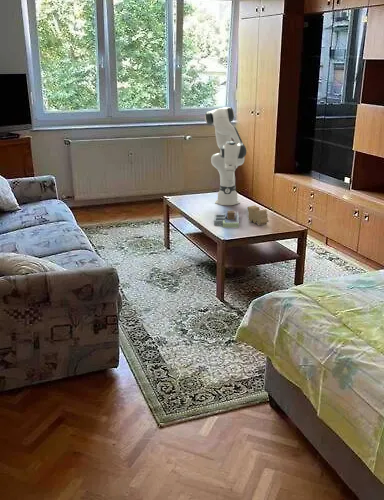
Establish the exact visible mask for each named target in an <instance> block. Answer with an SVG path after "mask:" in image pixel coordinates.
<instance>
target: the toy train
mask: <svg viewBox="0 0 384 500" xmlns="http://www.w3.org/2000/svg"><path fill="white" fill-rule="evenodd" d="M260 208H261V207H260V206H257V205H250V206H247V212H248V213H247V215H248V216H247V218H248V221H249V223H250V222H251V223H252V222H253V223H254V224H257V225H258V226H263V225H266V224H267V223H270V222H269V221H270V220H269V218H268V213H267V212H268V211H267V209H260Z"/></svg>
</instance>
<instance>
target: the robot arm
mask: <svg viewBox="0 0 384 500" xmlns="http://www.w3.org/2000/svg"><path fill="white" fill-rule="evenodd" d="M234 118H235V111H234V109H233V108H232V107H231V106H226V107H219V108H216V109H212V110H209V111H206V112H205V115H204V121H205V122H206V124H207V125H208V126H214V131H215V133H214V134H215V139H216V140H215V141H216V145H217V147H218V149H219V152H217V153H213V154H212V155H211V158H210V161H211V162H210V163H211V165H212V167H214V168H215V169H216V170H217V171H218V173H219V180H220V181H219V182H220V184H219V191H218V192H217V200H215V204H217V205H220V206H221V205H222V206H233V205H237V204H240V203H241V201H240V200H239V199H238V192H237V191H236V187H237V186H236V176H235V171H236V169H238V167H239V166H242V165H243V164H244V163H245V160H246V159H245V157H246V155H247V148H246V145H245V144H244V143H243V141H242V138H241V136H240V134H239V132H238V129H237V128H236V127H235V126H233V125H232V122H233V120H234ZM232 139H233V140H232Z"/></svg>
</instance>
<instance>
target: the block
mask: <svg viewBox="0 0 384 500" xmlns="http://www.w3.org/2000/svg"><path fill="white" fill-rule="evenodd" d="M235 214H236V211H235V210H227V214H226V215H227V217H226V218H227V220H235V216H236V215H235Z"/></svg>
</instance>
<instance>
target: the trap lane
mask: <svg viewBox="0 0 384 500" xmlns="http://www.w3.org/2000/svg"><path fill="white" fill-rule="evenodd" d="M239 218H240V217H239V212H236V222H226V212H223V213H222V214H217V213H216V214H214V219H213V225H214V226H222V228H226V229H229V228H230V229H232V228H235V229H236V228H237V229H239V228H240V225H239V224H240V222H239V221H240V219H239Z"/></svg>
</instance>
